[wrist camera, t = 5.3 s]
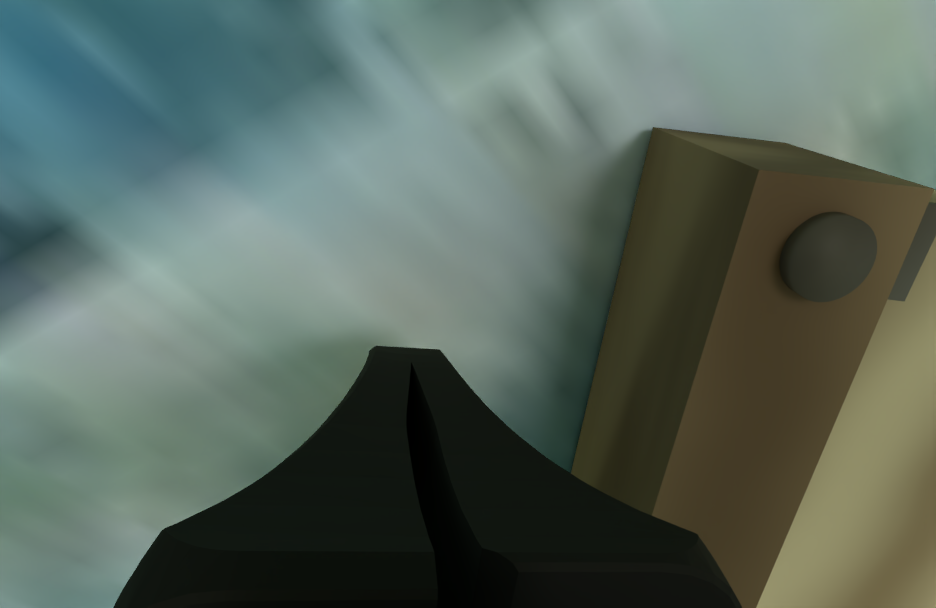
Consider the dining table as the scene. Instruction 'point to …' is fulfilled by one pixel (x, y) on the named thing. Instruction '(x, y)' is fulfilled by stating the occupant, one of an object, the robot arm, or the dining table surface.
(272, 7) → the dining table surface
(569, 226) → the dining table surface
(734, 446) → the folding leg
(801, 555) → the stool top
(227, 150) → the dining table surface
